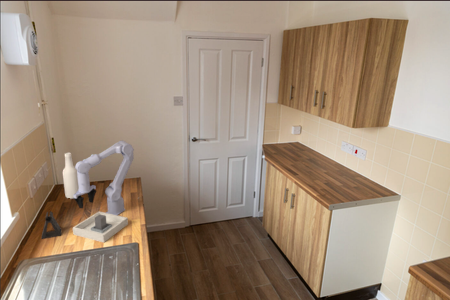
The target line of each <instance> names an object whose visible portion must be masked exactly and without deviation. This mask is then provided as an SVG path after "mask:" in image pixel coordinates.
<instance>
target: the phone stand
mask: <svg viewBox="0 0 450 300" xmlns="http://www.w3.org/2000/svg"><path fill="white" fill-rule="evenodd" d="M49 224H50V225H51V226H52V228H53V230H51V231H48V225H49ZM61 236H62V228H61V227H60V225H59V223H58V221H57V220H56V218H55V217H54V213H53V211H46V214H45V222H44V225H43V230H42V233H41V238H40V239H41V240H44V239H46V240H47V239H51V238H56V237H61Z"/></svg>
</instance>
